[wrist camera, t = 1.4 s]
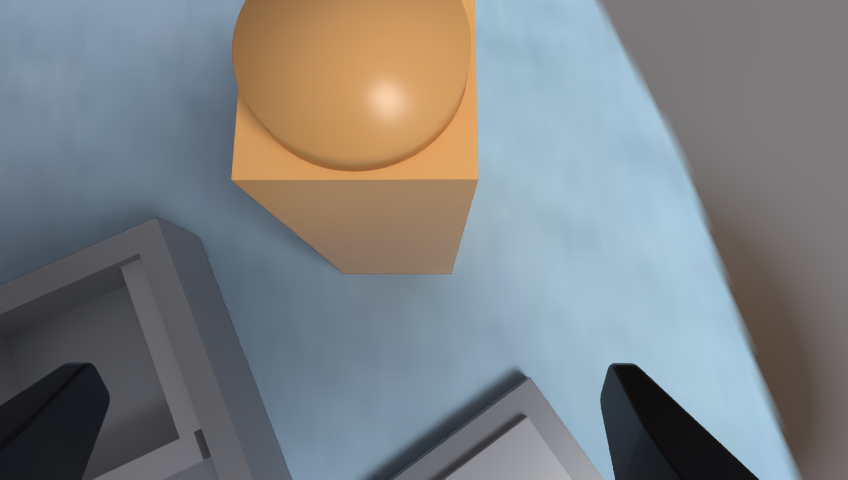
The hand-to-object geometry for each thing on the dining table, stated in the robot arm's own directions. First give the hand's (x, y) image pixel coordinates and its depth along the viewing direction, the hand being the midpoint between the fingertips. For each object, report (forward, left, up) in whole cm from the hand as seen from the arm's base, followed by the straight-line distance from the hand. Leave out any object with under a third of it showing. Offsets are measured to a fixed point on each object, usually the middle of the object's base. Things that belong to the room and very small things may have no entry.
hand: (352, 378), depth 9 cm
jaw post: (+5, -2, -12) cm, 13 cm away
